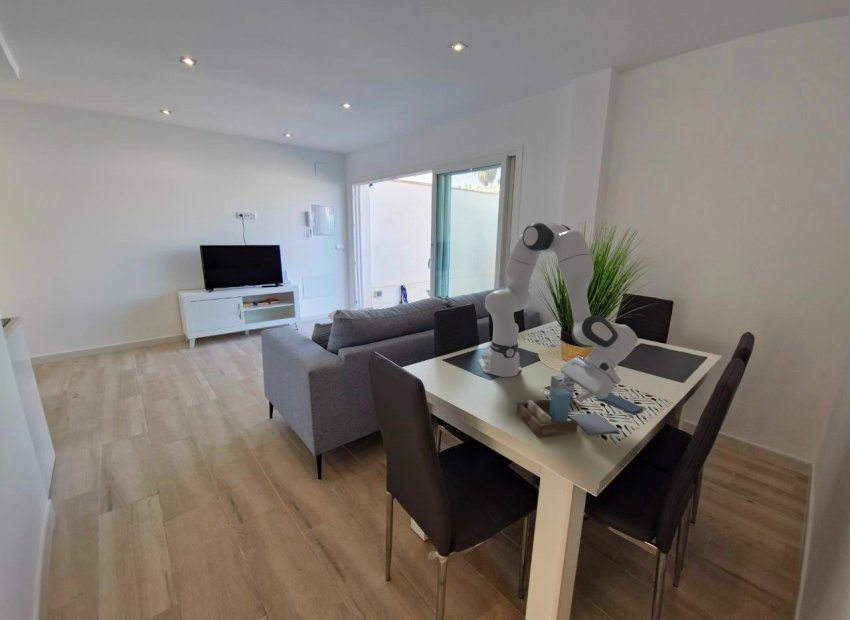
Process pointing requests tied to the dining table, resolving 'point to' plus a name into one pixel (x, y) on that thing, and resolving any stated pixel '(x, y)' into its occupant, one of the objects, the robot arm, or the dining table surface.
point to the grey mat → (594, 424)
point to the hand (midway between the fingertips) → (569, 393)
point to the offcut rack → (545, 428)
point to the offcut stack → (538, 413)
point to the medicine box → (557, 380)
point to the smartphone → (622, 404)
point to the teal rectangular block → (559, 405)
